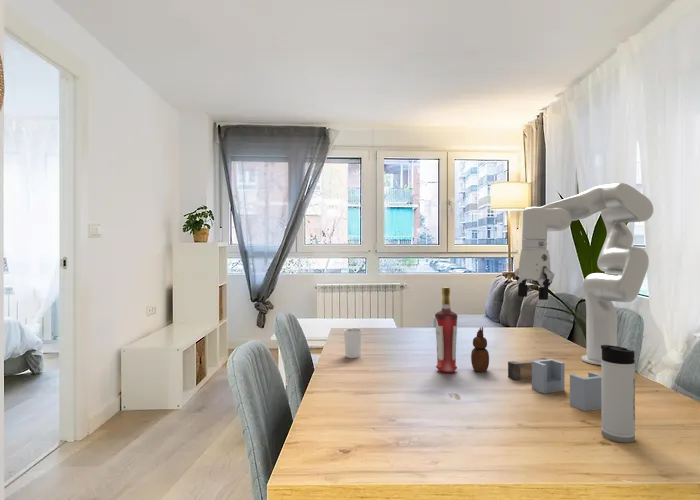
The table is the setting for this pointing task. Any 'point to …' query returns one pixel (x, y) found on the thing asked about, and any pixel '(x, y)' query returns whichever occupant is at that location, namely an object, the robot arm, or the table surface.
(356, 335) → the drinking glass
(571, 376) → the post
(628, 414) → the travel mug
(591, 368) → the table surface
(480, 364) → the wooden figurine
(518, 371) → the rail
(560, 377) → the post
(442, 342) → the liquor
